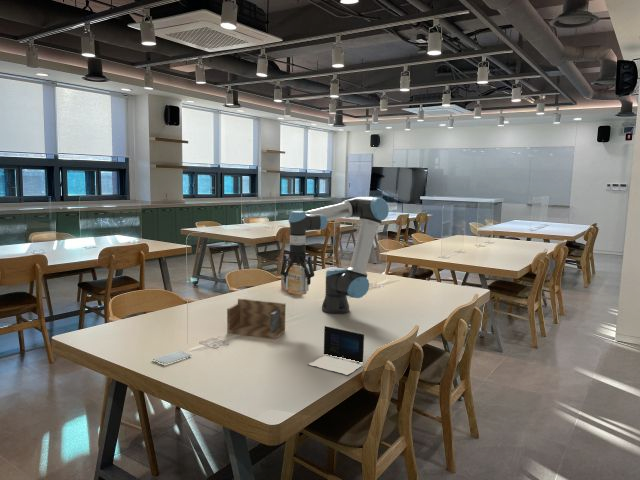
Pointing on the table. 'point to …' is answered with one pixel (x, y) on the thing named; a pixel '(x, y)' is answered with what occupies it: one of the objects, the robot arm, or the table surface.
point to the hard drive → (172, 357)
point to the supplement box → (296, 280)
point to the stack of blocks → (283, 284)
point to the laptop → (343, 343)
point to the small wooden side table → (256, 318)
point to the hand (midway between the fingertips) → (297, 290)
